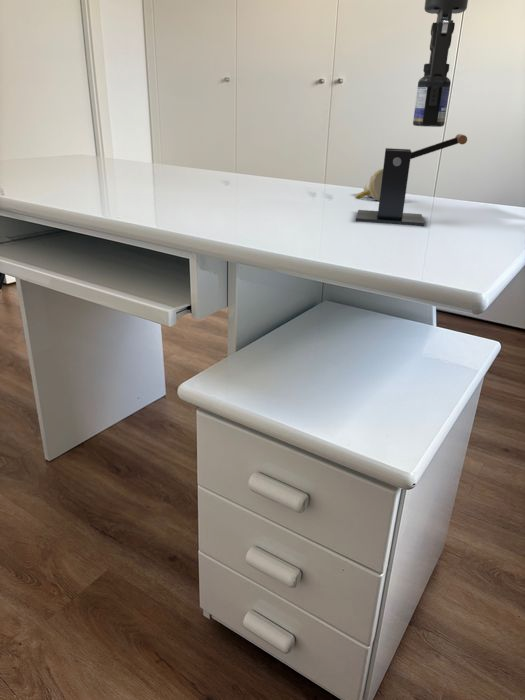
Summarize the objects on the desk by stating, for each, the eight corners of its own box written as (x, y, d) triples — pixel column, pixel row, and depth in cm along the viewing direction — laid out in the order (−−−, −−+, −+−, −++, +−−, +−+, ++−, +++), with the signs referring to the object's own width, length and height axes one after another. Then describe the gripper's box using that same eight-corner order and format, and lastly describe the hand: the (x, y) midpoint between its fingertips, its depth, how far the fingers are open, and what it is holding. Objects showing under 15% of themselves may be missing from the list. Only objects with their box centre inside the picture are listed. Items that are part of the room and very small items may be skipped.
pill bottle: (436, 126, 110) (445, 65, 106) (449, 127, 105) (459, 63, 100) (407, 125, 109) (415, 64, 105) (419, 126, 104) (428, 62, 99)
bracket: (420, 220, 103) (431, 149, 98) (423, 229, 95) (435, 153, 90) (357, 215, 105) (365, 146, 100) (355, 224, 97) (362, 149, 92)
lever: (464, 143, 94) (462, 129, 93) (468, 145, 90) (465, 131, 89) (390, 168, 98) (387, 155, 98) (390, 171, 94) (387, 157, 93)
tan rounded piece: (378, 196, 131) (400, 161, 123) (386, 221, 125) (409, 185, 117) (351, 188, 129) (371, 151, 121) (357, 213, 122) (379, 176, 115)
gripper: (424, -4, 106) (408, 122, 116) (430, -26, 89) (410, 124, 99) (464, -4, 105) (443, 123, 115) (477, -26, 88) (452, 126, 98)
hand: (428, 124), depth 107 cm, fingers closed on pill bottle, 6 cm apart
